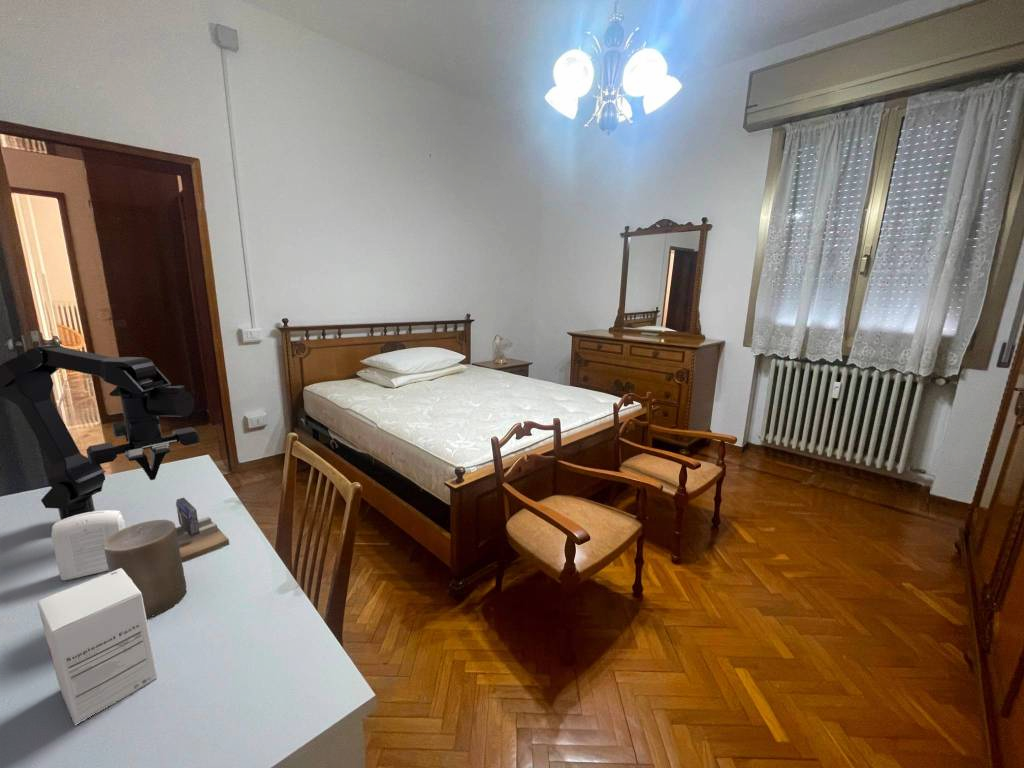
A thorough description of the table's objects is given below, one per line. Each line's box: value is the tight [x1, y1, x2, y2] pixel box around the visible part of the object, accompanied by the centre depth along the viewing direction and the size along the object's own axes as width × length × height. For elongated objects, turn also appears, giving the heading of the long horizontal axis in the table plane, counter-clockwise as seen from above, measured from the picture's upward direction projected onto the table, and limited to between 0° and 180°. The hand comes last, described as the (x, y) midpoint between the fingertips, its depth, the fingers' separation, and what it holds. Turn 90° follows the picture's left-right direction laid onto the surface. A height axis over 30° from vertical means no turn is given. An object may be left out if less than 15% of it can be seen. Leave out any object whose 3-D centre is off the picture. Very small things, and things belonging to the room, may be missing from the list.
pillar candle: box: [103, 519, 188, 619], centre depth 75 cm, size 10×10×15 cm
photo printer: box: [50, 509, 126, 581], centre depth 83 cm, size 10×4×12 cm, turn 123°
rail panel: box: [176, 516, 230, 564], centre depth 92 cm, size 14×12×3 cm
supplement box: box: [37, 568, 158, 725], centre depth 59 cm, size 9×9×15 cm
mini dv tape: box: [175, 497, 200, 537], centre depth 93 cm, size 8×2×6 cm, turn 53°
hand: (152, 479), depth 97 cm, fingers closed
